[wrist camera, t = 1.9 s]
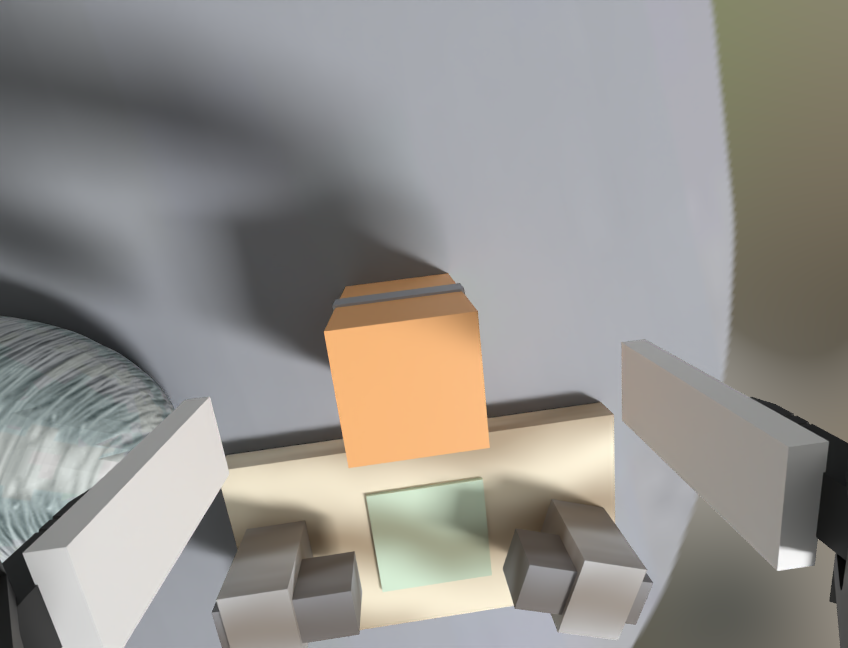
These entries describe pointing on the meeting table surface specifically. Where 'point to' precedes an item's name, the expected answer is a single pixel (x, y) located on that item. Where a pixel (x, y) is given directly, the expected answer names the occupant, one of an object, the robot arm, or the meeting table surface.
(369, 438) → the block
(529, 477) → the coupling bench
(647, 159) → the meeting table surface
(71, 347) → the grey green yarn ball
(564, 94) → the meeting table surface
